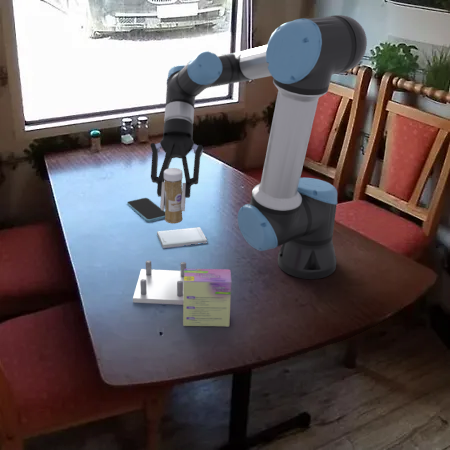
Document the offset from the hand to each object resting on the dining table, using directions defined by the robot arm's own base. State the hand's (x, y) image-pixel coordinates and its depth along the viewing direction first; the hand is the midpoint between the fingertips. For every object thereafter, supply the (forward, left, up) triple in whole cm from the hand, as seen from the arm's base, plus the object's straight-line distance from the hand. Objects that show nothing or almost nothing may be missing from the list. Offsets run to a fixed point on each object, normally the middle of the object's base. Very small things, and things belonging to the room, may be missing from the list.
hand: (172, 208), depth 159 cm
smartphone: (+28, -17, -17) cm, 37 cm away
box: (-23, +11, -16) cm, 30 cm away
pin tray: (-7, +9, -16) cm, 20 cm away
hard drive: (+8, -12, -17) cm, 22 cm away
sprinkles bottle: (+1, -2, -4) cm, 5 cm away
